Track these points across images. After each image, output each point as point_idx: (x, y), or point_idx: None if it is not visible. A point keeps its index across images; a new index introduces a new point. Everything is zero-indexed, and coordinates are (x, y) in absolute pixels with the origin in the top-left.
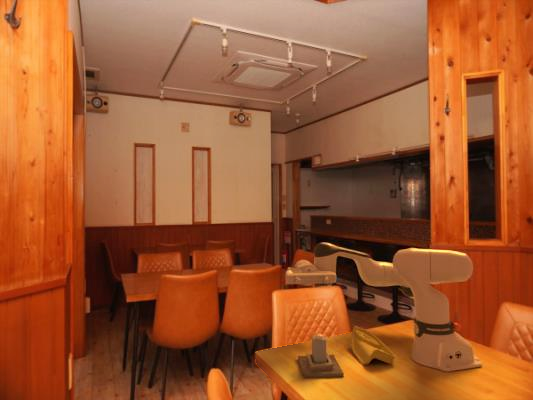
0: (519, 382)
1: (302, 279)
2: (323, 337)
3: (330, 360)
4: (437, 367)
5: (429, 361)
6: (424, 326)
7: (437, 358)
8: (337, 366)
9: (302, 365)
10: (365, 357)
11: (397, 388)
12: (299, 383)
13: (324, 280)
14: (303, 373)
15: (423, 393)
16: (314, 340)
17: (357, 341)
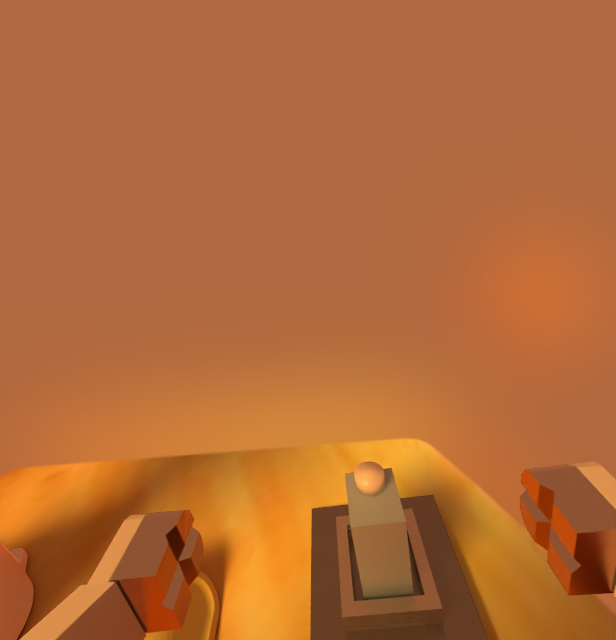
0: None
1: (551, 486)
2: (353, 495)
3: (340, 541)
4: (23, 566)
5: (19, 574)
6: None
7: (6, 551)
8: (319, 550)
9: (448, 556)
10: (191, 614)
11: (211, 473)
12: (439, 478)
13: (186, 514)
14: (433, 500)
15: (176, 461)
16: (391, 468)
17: None
